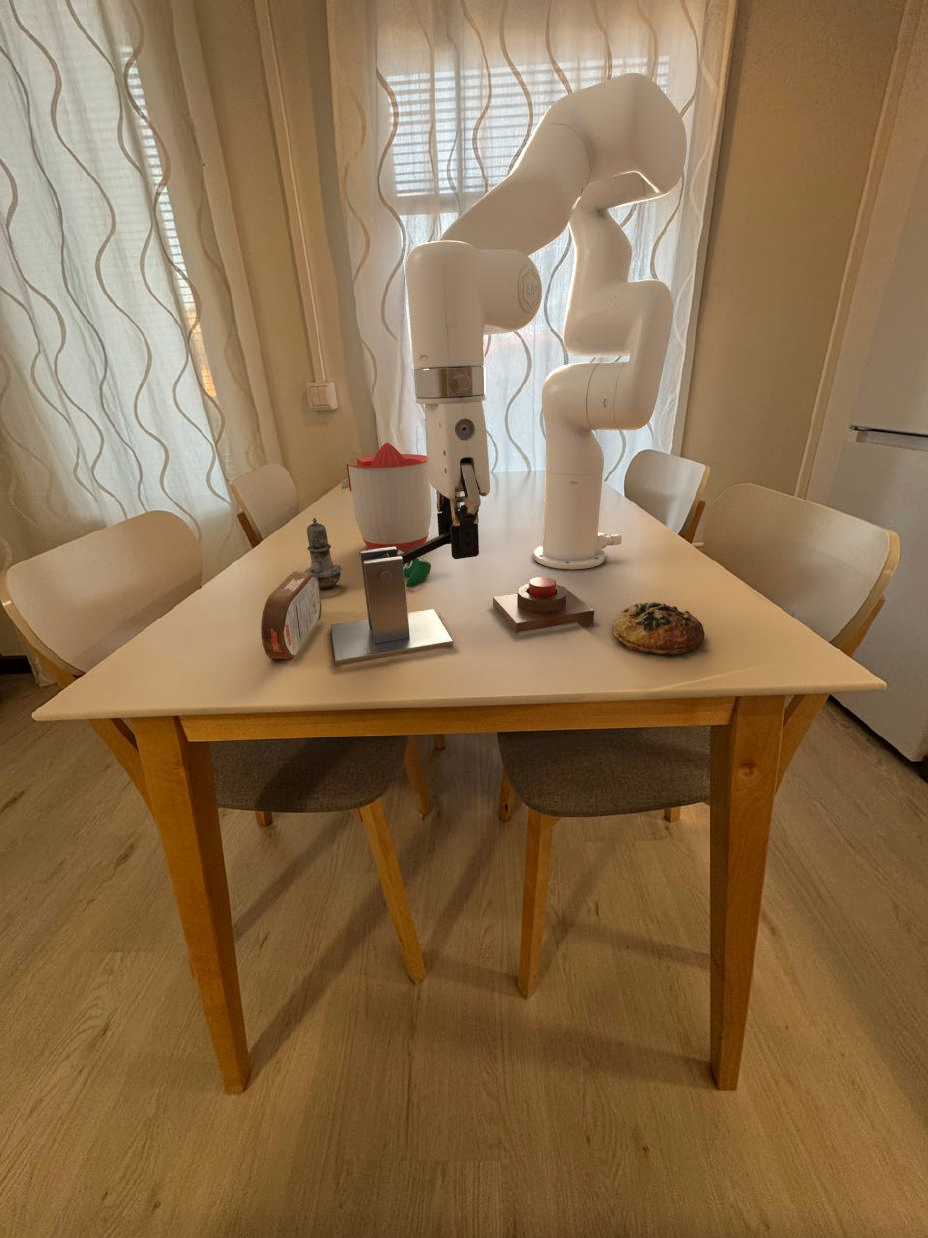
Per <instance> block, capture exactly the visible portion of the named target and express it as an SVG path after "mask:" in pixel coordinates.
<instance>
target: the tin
mask: <svg viewBox="0 0 928 1238" xmlns="http://www.w3.org/2000/svg"><path fill="white" fill-rule="evenodd" d="M321 616H322V600H321V589H319V580H318V578H317V576H316V575H315V574H313V573H304V571H303V572H302V571H301V572H300V571H297V570H296V571H295V570H294V571H293V572H291V573H290V574H289V575H288V576H287V577H285V579H284V580H283V581H282V582H281V583H280V584H279V585H278V586H276V588H275V589H274V590H273V591H272V592H271V593H270V594H269V595H268V597H267V598H266V601H265V603H264V607H263V611H262V615H261V623H260V631H261V643H262V647H263V650H264V653H265V655H266V656H267V658H269V659H270V660H271V661H273V660H284V661H285V660H293V659H294V658H295V657H296V654H297V652H298V650H299V649H300V648H301V646H302V645H303V644H304V642H305V641H306V639H307V638H308V636H309V635H310V633H311V631H312V630H313V628H314V626H315V625H316V624H317V623H318V621H320V619H321Z"/></svg>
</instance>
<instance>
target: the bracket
mask: <svg viewBox="0 0 928 1238" xmlns="http://www.w3.org/2000/svg"><path fill="white" fill-rule="evenodd" d="M386 553H388V555H389V557H390V558H384V559H375V558H377V557H379V556H381V555H384V554H386ZM397 554H398V553H397V549H396V547H388V548H380V549H371V550H369V549H365V550H363V549H362V550H359V556H360V557H359V559H360V565H361V573H362V580H363V588H364V589H363V590H364V595H365V605H366V611H367V618H366V619H359V620H353V621H345V622H339V623H332V624H330V632H331V639H332V647H333V655H334V663H335V666H339V665H347V664H352V663H359V662H363V661H364V662H365V661H370V660H375V659H381V658H386V657H393V656H399V655H404V654H411V653H416V652H423V651H427V650H428V651H429V650H434V649H440V648H445V647H452V646H454V640H453V639H452V637H451V636H450V634H449V632H448V631H447V629H446V627H445V626H444V624H443V622H442V621H441V619H440V617H439V615H438V614H437V612H436V611H435V609H434V608H432V609H424V610H419V611H412V612H411V611H410V612H409V611H408V603H407V602H408V601H407V591H406V581H405V580H406V578H405V577H404V568H403V559H402V557H401V556H400V557H396V556H397ZM373 559H375V560H373Z"/></svg>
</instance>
